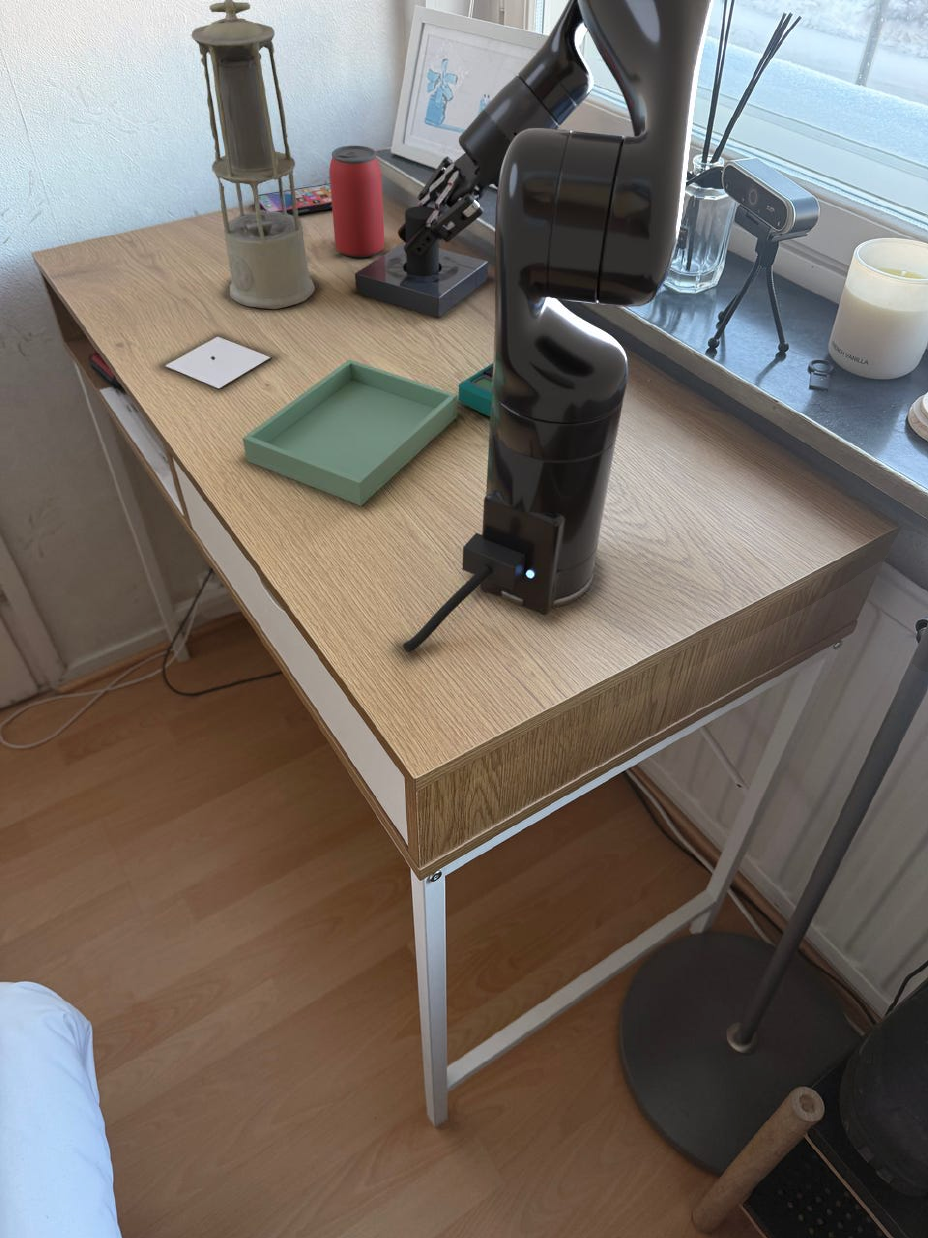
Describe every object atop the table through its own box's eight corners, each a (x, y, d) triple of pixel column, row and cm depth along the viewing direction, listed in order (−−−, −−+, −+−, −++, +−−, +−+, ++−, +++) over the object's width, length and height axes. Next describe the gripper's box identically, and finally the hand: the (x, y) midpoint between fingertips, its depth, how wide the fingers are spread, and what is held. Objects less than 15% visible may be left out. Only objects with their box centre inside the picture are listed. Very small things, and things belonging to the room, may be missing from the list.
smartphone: (251, 195, 126) (347, 180, 131) (252, 202, 127) (348, 186, 132) (267, 213, 122) (366, 196, 127) (268, 220, 123) (366, 203, 127)
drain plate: (438, 317, 104) (439, 297, 102) (356, 293, 108) (354, 273, 106) (487, 280, 111) (488, 260, 109) (407, 258, 115) (407, 239, 113)
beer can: (331, 241, 118) (322, 145, 110) (378, 236, 120) (373, 141, 111) (340, 261, 114) (333, 163, 105) (389, 256, 115) (386, 159, 107)
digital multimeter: (590, 373, 96) (593, 348, 93) (512, 431, 87) (514, 405, 85) (535, 351, 99) (537, 327, 97) (455, 405, 90) (455, 380, 88)
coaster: (270, 357, 96) (269, 350, 95) (218, 388, 91) (217, 381, 91) (217, 336, 99) (216, 330, 98) (164, 365, 94) (163, 359, 93)
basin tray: (361, 506, 78) (359, 483, 76) (246, 460, 83) (242, 437, 81) (457, 416, 89) (457, 394, 87) (350, 380, 93) (349, 358, 91)
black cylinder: (428, 296, 107) (427, 221, 101) (400, 288, 109) (398, 213, 102) (444, 284, 110) (445, 210, 103) (417, 276, 111) (416, 203, 105)
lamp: (232, 312, 103) (179, 10, 82) (226, 266, 112) (177, -18, 91) (319, 305, 105) (289, 8, 84) (307, 260, 114) (278, -20, 92)
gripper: (473, 89, 101) (375, 203, 108) (502, 128, 91) (392, 251, 98) (514, 137, 106) (417, 244, 112) (546, 179, 96) (438, 293, 103)
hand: (406, 246), depth 105 cm, fingers closed on black cylinder, 4 cm apart
